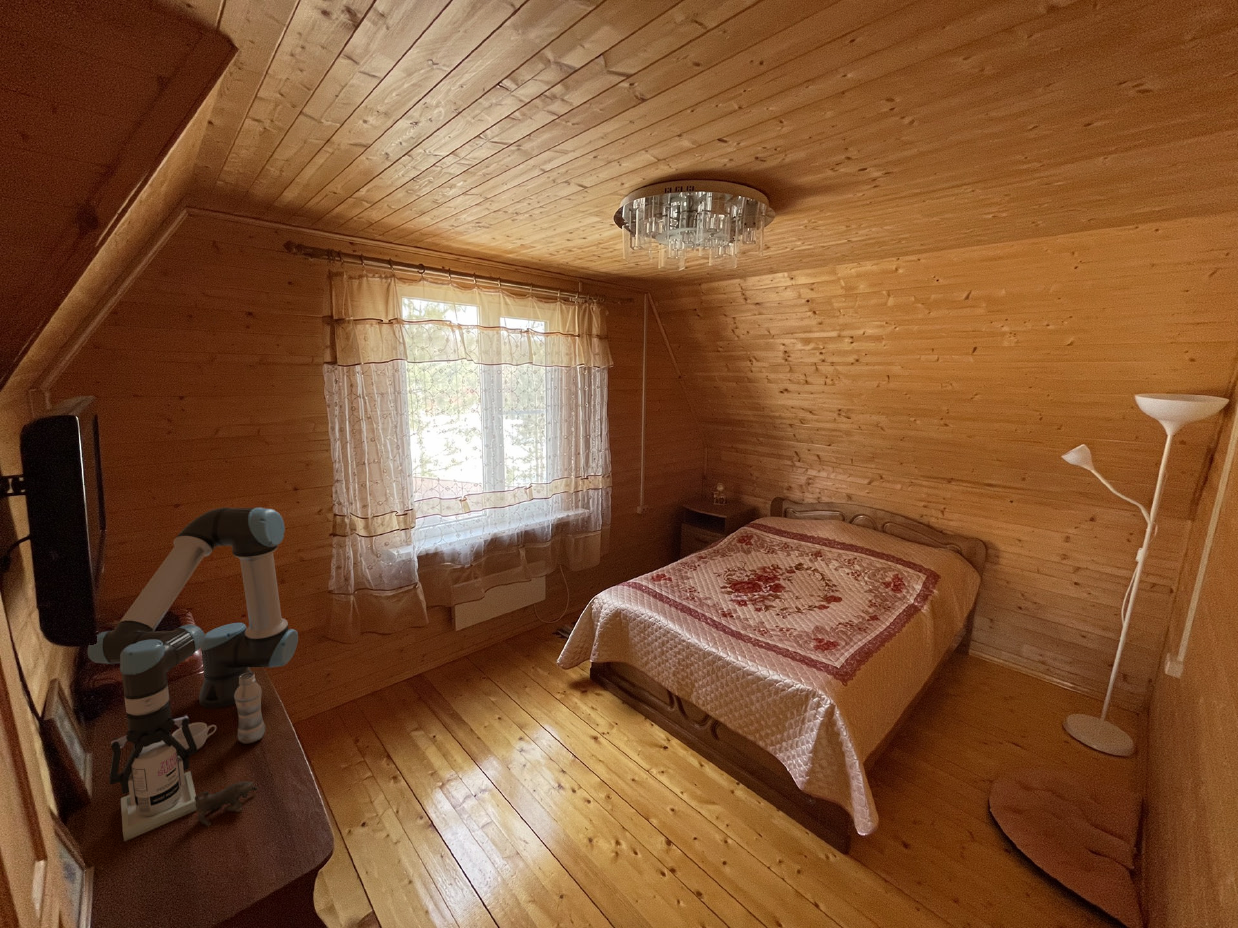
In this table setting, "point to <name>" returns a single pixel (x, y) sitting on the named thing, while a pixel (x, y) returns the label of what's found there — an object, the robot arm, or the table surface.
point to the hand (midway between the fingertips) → (158, 791)
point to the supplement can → (156, 779)
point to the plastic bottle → (249, 709)
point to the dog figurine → (222, 799)
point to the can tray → (142, 824)
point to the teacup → (194, 734)
